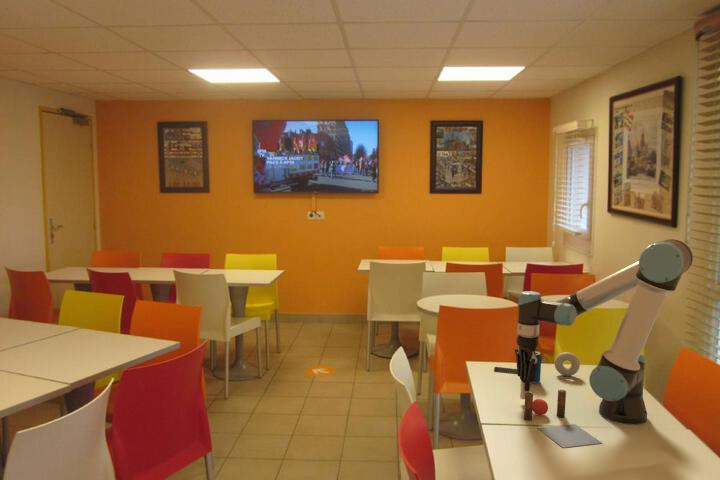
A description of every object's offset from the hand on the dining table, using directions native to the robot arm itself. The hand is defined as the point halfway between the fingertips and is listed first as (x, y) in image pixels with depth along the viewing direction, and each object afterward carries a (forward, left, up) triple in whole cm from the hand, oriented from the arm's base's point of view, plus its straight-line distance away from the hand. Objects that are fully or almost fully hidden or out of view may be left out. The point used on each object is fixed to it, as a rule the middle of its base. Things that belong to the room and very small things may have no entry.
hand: (524, 398), depth 209 cm
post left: (-13, +6, -2) cm, 15 cm away
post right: (-13, -6, -2) cm, 15 cm away
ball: (-10, 0, +1) cm, 10 cm away
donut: (+23, -33, -2) cm, 40 cm away
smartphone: (+33, -13, -3) cm, 36 cm away
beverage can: (+20, -15, -2) cm, 25 cm away
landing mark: (-27, 0, -2) cm, 27 cm away
